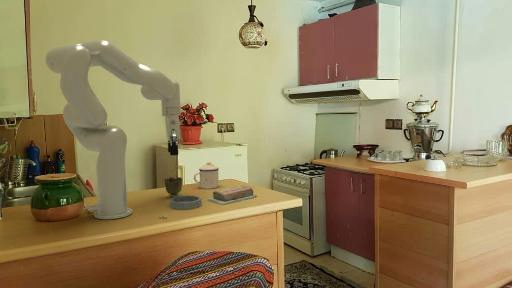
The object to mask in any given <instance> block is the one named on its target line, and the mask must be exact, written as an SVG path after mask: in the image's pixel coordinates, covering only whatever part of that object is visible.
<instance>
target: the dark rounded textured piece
mask: <svg viewBox="0 0 512 288" xmlns="http://www.w3.org/2000/svg"><path fill="white" fill-rule="evenodd" d="M164 187H165V191H166V192H167V194H169V198H170V199H171V198H173V197H178V196H179V194H180V193H181V191H182V188H183V178H182V177H181V176H180V177H178V176H176V178H174V177H173V176H172V177H171V176H170V177H167V178H164Z"/></svg>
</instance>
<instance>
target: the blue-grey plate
mask: <svg viewBox="0 0 512 288" xmlns="http://www.w3.org/2000/svg"><path fill="white" fill-rule="evenodd" d="M202 205H203V203H202V197H201V196H199V195H190V194H189V195H178V197H173V198H171V197H170V198H169V208H170V209H173V210H181V211H182V210H185V211H186V210H193V209H197V208H200V207H202Z"/></svg>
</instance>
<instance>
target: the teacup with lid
mask: <svg viewBox="0 0 512 288" xmlns="http://www.w3.org/2000/svg"><path fill="white" fill-rule="evenodd" d="M198 170H199V171H198V172H196V173H195V174H193V180H194V182H195V183H196V184H199V187H200V189H202V190H203V189H207V190H210V189H211V190H212V189H217V188H218V187H220V185H219V183H220V181H219V180H220V179H219V171H220V170H219V167H218V166H216V165H215V164H212V162H211V161H208V162H206V164H204V165H202V166H201V167H199V169H198ZM198 175H199V181H198V180H197V178H196V177H197V176H198Z"/></svg>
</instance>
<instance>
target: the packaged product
mask: <svg viewBox="0 0 512 288" xmlns="http://www.w3.org/2000/svg"><path fill="white" fill-rule="evenodd" d="M254 197H256V198H257V197H258V195H256V194H254V190H253V187H252V186H249V185H244V184H243V185H239V186H232V187H227V188H222V189H218V190H213V192H212V196H211V197H207V201H208V202H210V203H213V204H217V205H219V206H225V205H228V204H233V203H238V202H242V200H243V201H246V199H247V200H250V198H251V199H255V198H254Z"/></svg>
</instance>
